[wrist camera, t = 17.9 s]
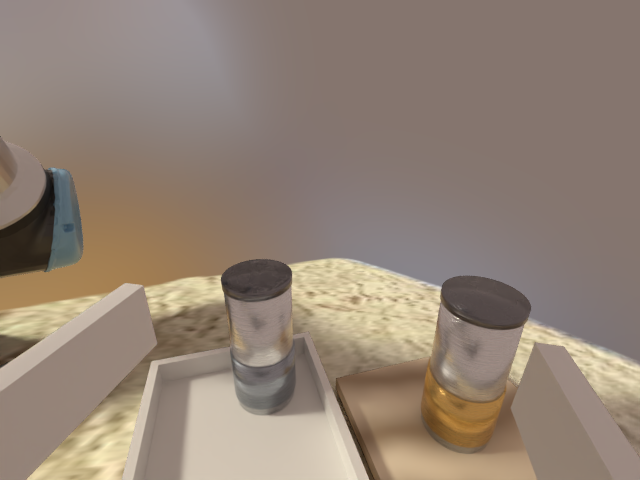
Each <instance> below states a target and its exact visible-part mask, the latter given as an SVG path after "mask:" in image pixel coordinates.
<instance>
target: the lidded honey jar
mask: <svg viewBox="0 0 640 480" xmlns="http://www.w3.org/2000/svg"><path fill="white" fill-rule="evenodd" d="M440 299H441V303H440V308H439V314H438V320H437V325H436V331H435V337H434V342H433V348H432V354H431V357H430V359H429V361H428V366H427V372H426V377H425V383H424V389H423V395H422V400H421V418H422V422H423V425H424V427H425V429H426V430H427V432H428V433H429V434H430V436H431V437H432V438H433V439H434V440H435V441H436V442H438V443H439V444H440V445H442V446H444V447H445V448H447V449H449V450H452V451H454V452H458V453H463V454H472V453H477V452H479V451H481V450H482V449H484V448H485V447H486V445H487V444H488V441H489V440H490V439H491V437H492V435H493V432H494V429H495V426H496V423H497V419H498V416H499V413H500V410H501V406H502V403H503V400H504V397H505V394H506V389H507V387H506V383H507V380H508V376H509V373H510V370H511V367H512V363H513V360H514V357H515V354H516V350H517V347H518V344H519V341H520V337H521V334H522V331H523V328H524V324H525V323H526V322H527V320H528V317H529V314H530V311H531V305H530V303H529V301H528V299H527V298H526V297H525V296H524V295H523V294H522V293H520V292H519V291H517V290H516V289H514V288H513V287H511V286H509V285H506V284H504V283H502V282H499V281H496V280H492V279H488V278H484V277H478V276H458V277H453V278H450V279H448V280H446V281H445V282H444V283H443V285H442V289H441V295H440Z"/></svg>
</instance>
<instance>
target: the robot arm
mask: <svg viewBox="0 0 640 480" xmlns="http://www.w3.org/2000/svg"><path fill="white" fill-rule="evenodd" d="M82 254H83V235H82V225H81V217H80V211H79V204H78V200H77V194H76V189H75V185H74V181H73V178H72V175H71V174H70V172H69V171H67V170H65V169H56V168H49V169H48V170H44V168H43V167H42V165H41V164H40V162H39V161H38V160H37V159H36V157H35V156H33V155H32V154H31V153H30V152H28V151H26V150H25V149H23V148H21V147H19V146H18V145H15V144H12V143H9V142H6V141H3V139H2V138H1V136H0V278H4V277H10V276H16V275H22V274H27V273H33V272H39V271H44V272H49V271H51V270H52V269H55V268H60V267H65V266H69V265H73V264H75V263H77V262H78V261H79V260H80V259H81V257H82ZM156 345H157V340H156V336H155V332H154V328H153V323H152V319H151V315H150V311H149V307H148V303H147V299H146V295H145V291H144V286H143V285H136V284H129V283H125V284H123V285H122V286H120V287H119V288H117V289H116V290H115V291H113V292H111V293H110V294H109V295H107V296H106V297H104V298H103V299H101V300H100V301H98V302H97V303H95V304H94V305H92V306H91V307H89V308H88V309H87V310H85V311H84V312H82V313H81V314H79V315H78V316H76V317H75V318H73V319H72V320H70V321H69V322H68V323H66V324H65V325H63V326H62V327H60V328H59V329H57V330H56V331H54V332H53V333H51V334H50V335H49V336H47V337H46V338H44V339H43V340H41V341H40V342H38V343H37V344H35V345H34V346H32V347H31V348H30V349H28V350H27V351H25V352H24V353H22V354H21V355H19V356H18V357H16V358H15V359H13V360H11V361H9V362H7V363H5V364H3V365H1V366H0V480H26V479H27V478H28V477H29V476H30V475H31V474H32V473H33V472H34V471H35V470H36V469H37V468H38V467H39V466H40V465H41V464H42V463H43V462H44V461H45V460H46V459H47V457H48V456H49V455H50V454H51V453H52V452H53V451H54V450H55V449H56V448H57V447H58V446H59V445H60V444H61V443H62V442H63V441H64V440H65V439H66V438H67V437H68V436H69V435H70V434H71V433H72V432H73V431H74V430H75V429H76V428H77V426H78V425H79V424H80V423H81V422H82V421H83V420H84V419H85V418H86V417H87V416H88V415H89V414H90V413H91V412H92V411H93V410H94V409H95V408H96V407H97V406H98V405H99V404H100V403H101V402H102V401H103V400H104V399H105V398H106V397H107V396H108V394H109V393H110V392H111V391H112V390H113V389H114V388H115V387H116V386H117V385H118V384H119V383H120V382H121V381H122V380H123V379H124V378H125V377H126V376H127V375H128V374H129V373H130V372H131V371H132V370H133V369H134V368H135V367H136V366H137V365H138V363H139V362H140V361H141V360H142V359H143V358H144V357H145V356H146V355H147V354H148V353H149V352H150V351H151V350H152V349H153V348H154V347H155V346H156ZM511 411H512V413H513V416H514V419H515V421H516V424H517V427H518V429H519V432H520V435H521V437H522V440H523V443H524V445H525V448H526V451H527V453H528V456H529V459H530V462H531V464H532V467H533V470H534V472H535V475H536V478H537V480H640V457H639V456H638V454H637V453H636V451H635V450H634V448H633V447H632V445H631V444H630V443H629V441H628V440H627V438H626V437H625V435H624V434H623V432H622V431H621V429H620V428H619V426H618V425H617V423H616V422H615V420H614V419H613V418H612V416H611V415H610V413H609V412H608V410H607V409H606V407H605V406H604V404H603V403H602V401H601V400H600V398H599V397H598V396H597V394H596V393H595V391H594V390H593V388H592V387H591V385H590V384H589V382H588V381H587V379H586V378H585V376H584V375H583V374H582V372H581V371H580V369H579V368H578V366H577V365H576V363H575V362H574V360H573V359H572V357H571V356H570V354H569V353H568V352H567V350H566V349H565V347H563V346H556V345H549V344H542V343H536V342H535V344H534V346H533V349H532V352H531V354H530V357H529V360H528V363H527V365H526V368H525V371H524V373H523V376H522V379H521V381H520V384H519V387H518V389H517V392H516V395H515V397H514V400H513V403H512V406H511Z"/></svg>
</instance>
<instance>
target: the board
mask: <svg viewBox="0 0 640 480" xmlns="http://www.w3.org/2000/svg"><path fill="white" fill-rule="evenodd" d="M430 357H431V356H430ZM430 357H425V358H421V359H417V360H412V361H408V362H404V363H400V364H395V365H391V366H387V367H383V368H378V369H374V370H370V371H365V372H361V373H357V374H353V375H348V376H344V377H340V378H336V390H337V392H338V395H339V397H340V399H341V402H342V404H343V406H344V409H345V411H346V414H347V416H348V418H349V421H350V423H351V425H352V428H353V430H354V432H355V435H356V437H357V440H358V442H359V444H360V447H361V449H362V451H363V454H364V456H365V459H366V461H367V463H368V466H369V468H370V470H371V473H372V475H373V478H374V480H537V478H536V475H535V472H534V470H533V467H532V464H531V462H530V459H529V456H528V453H527V451H526V448H525V445H524V443H523V440H522V437H521V435H520V432H519V429H518V427H517V424H516V421H515V419H514V416H513V413H512V411H511V406H512V403H513V400H514V397H515V395H516V392H517V389H518V388H517V387H516V386H515V385H514V384H513V383H512V382H510V381H509V380H507V383H506V387H507V389H506V394H505V397H504V400H503V403H502V406H501V410H500V413H499V416H498V419H497V423H496V426H495V429H494V432H493V435H492V437H491V439H490V440H489V441H488V444H487V445H486V447H485V448H484V449H482V450H481V451H479V452H477V453H472V454H463V453H458V452H454V451H452V450H449V449H447V448H445V447H444V446H442V445H440V444H439V443H438V442H436V441H435V440H434V439H433V438H432V437H431V436H430V434H429V433H428V432H427V430H426V429H425V427H424V425H423V422H422V418H421V400H422V395H423V389H424V383H425V377H426V372H427V366H428V361H429V359H430Z"/></svg>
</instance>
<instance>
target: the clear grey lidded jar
mask: <svg viewBox="0 0 640 480" xmlns="http://www.w3.org/2000/svg"><path fill="white" fill-rule="evenodd" d="M221 283H222V290H223V292H224V297H225V304H226V312H227V320H228V328H229V335H230V343H231V348H230V356H231V363H232V371H233V378H234V386H235V393H236V396H237V398H238V401H239V404H240V406H241V407H242V408H243V409H244V410H245V411H247V412H248V413H251V414H254V415H262V416H263V415H270V414H274V413H276V412H279V411H280V410H282V409H283V408H285V407H286V406H287V405H288V404H289V403H290V401H291V400H292V398H293V396H294V391H295V386H296V370H295V342H294V338H293V324H292V295H291V285H292V271H291V269H290V268H289V266H287V265H286V264H284V263H282V262H279V261H275V260H268V259H256V260H249V261H244V262H241V263H238V264H236V265H233V266H231V267H230V268H228V269H227V270H226V271H225V272H224V273H223V274H222V277H221Z"/></svg>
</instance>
